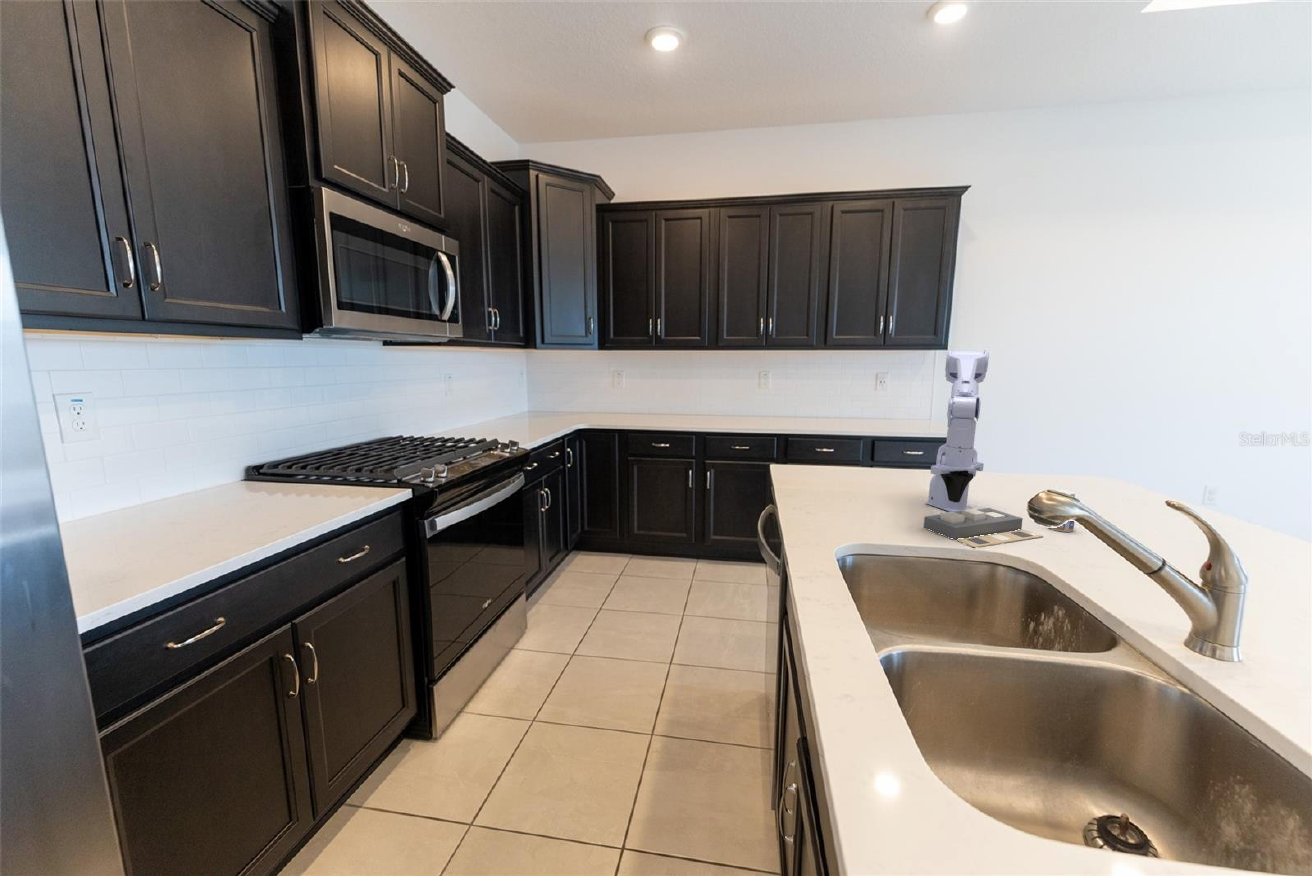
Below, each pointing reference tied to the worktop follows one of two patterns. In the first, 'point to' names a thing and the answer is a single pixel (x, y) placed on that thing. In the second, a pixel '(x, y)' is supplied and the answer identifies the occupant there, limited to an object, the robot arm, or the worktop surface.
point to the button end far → (995, 514)
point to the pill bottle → (1070, 524)
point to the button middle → (974, 514)
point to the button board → (974, 525)
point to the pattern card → (998, 538)
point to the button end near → (952, 517)
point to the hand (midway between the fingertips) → (953, 501)
